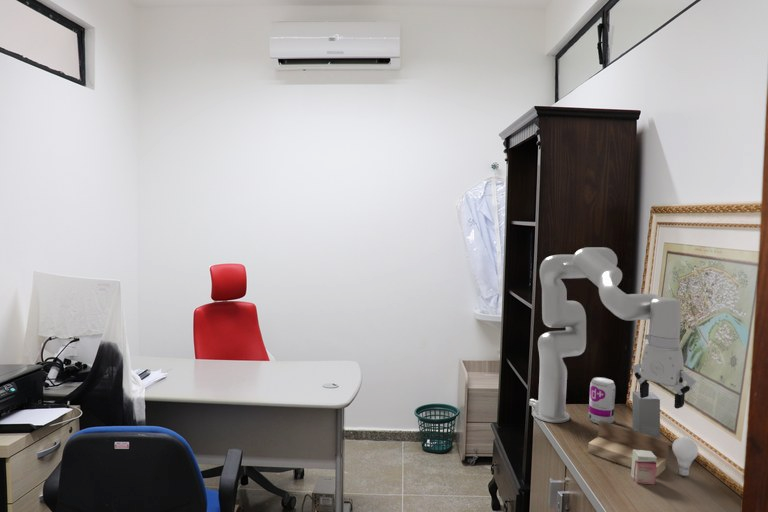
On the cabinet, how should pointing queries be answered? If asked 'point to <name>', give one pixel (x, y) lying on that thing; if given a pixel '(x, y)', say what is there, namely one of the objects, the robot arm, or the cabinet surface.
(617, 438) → the board
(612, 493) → the cabinet surface
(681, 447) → the lightbulb
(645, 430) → the skincare box
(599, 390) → the supplement can
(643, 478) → the small box
